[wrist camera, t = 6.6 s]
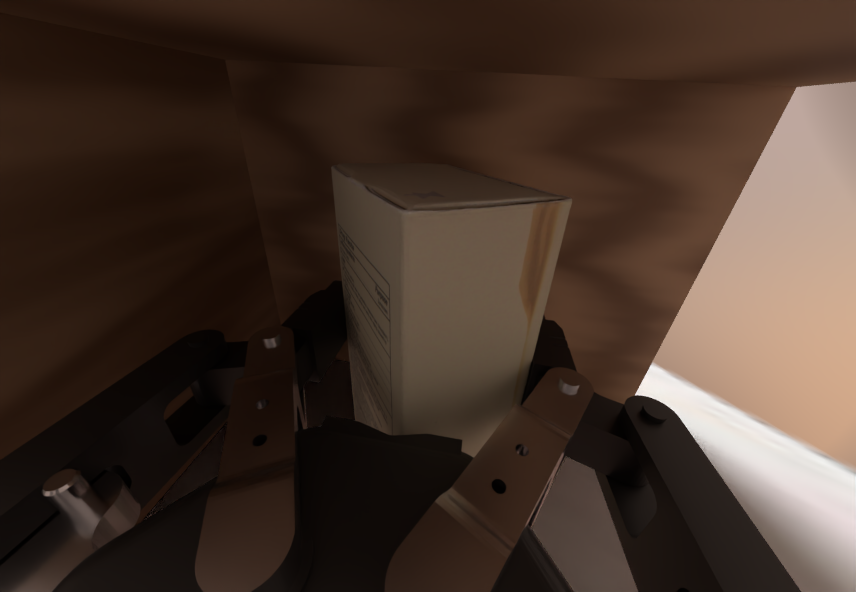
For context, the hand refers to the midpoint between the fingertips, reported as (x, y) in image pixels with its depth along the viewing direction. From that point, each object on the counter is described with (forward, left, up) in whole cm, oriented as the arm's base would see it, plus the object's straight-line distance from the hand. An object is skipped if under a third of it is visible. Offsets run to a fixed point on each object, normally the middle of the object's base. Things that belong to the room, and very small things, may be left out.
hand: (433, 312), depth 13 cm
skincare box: (0, +2, -7) cm, 7 cm away
